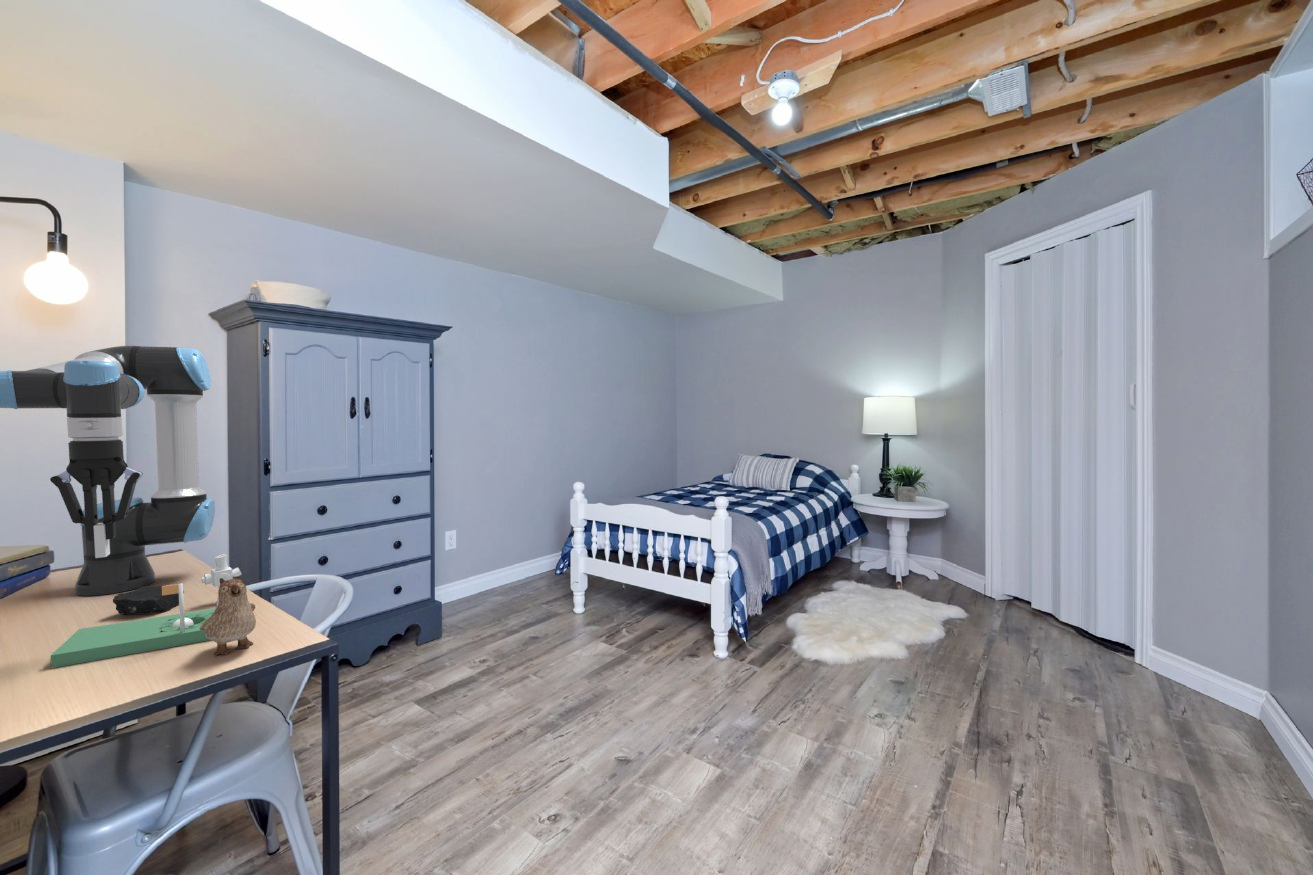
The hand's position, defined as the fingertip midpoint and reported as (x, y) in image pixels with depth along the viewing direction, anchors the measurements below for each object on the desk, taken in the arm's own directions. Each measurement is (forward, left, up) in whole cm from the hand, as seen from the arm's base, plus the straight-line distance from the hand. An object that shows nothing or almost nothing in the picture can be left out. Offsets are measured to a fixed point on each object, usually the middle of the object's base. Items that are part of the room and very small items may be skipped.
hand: (102, 555), depth 109 cm
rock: (-20, +2, -19) cm, 28 cm away
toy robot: (-18, +16, -19) cm, 31 cm away
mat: (+1, +6, -18) cm, 20 cm away
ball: (+1, +12, -17) cm, 20 cm away
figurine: (+16, +21, -19) cm, 33 cm away
